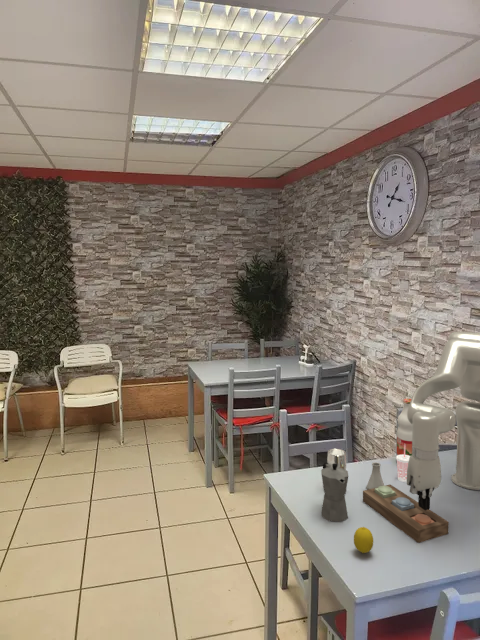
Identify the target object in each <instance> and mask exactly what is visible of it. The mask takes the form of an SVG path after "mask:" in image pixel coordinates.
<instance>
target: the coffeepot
mask: <svg viewBox="0 0 480 640" xmlns="http://www.w3.org/2000/svg"><path fill="white" fill-rule="evenodd" d="M332 465H333V467H331V465H330V464H328V463H327V461H325V462H324V463H323V464H322V468H321V470H320V472H321V480H322V486H323V488H322V489H323V492H324V495H323V500H322V505H321V511H320V512H321V517H322V519H325V520H326V521H328V522H332V523H341V522H345V521H346V520H347V519H349V517H348V510H347V502H346V495H345V494H346V493H347V486H348V481H349V471H348V470H347V469H346V470H344V469H342V468H340V467H337V464H332Z"/></svg>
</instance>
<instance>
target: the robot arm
mask: <svg viewBox="0 0 480 640" xmlns="http://www.w3.org/2000/svg"><path fill="white" fill-rule="evenodd" d="M435 370H436V371H435V373H434V375H432V377H430V378H428V379H426V380H425V381H424V382H422V383H421V384H420V385H419V386H418V387H417V388H416V389H415V390H414V392H413V394H412V396H411V398H410V399H411V402H410V404H409V408H408V412H407V417H408V421H409V422H410V423H411V424H413V426H412V455H411V456H410V458H409V462H408V468H407V482H406V485H407V486H408V487H409V493H411V495H417V496H418V499H417V500H418V501H417V502H418V506H419V507H421V508H422V509H424V510H427V509H428V510H431V498H432V496H433V492H434V490H436V489H437V488H439V487H440V485H441V481H442V468H441V467H442V466H441V459H440V456H439V450H441V449H440V446H439V435H440V434H446V433H448V432H450V431H452V430H453V429H454V427H455V425H456V426H457V429H456V430H457V439H456V440H457V441H456V445H457V446H456V462H455V463H456V464H455V465H456V467H455V473H453V474H452V475H451V481H452V482H453V484H455V485H456V486H459V487H461V488H463V489H467V490H474V491H479V490H480V332H473V331H472V332H470V331H455V332H452V333H450V334H449V335H448V340H447V342H445V344H444V346H443V349H442V351H441V355H440V358H439V361H438V364H437V367H436V369H435ZM457 388H459V389H460V394H461V396H462V397H463V398H465V399H467V401H466V400H464V401H461V402H459V403H458V404H457V405H456V406H455V407H456V408H455V412H454V411H452V410H451V409H450V408H446V407H441V406H436V405H432V404H426V403H425V402H426V400H427V399H428V398H429V397H431V396H432V395H435V394H437V393H442V392H446V391H451V390H454V389H457ZM468 400H469V401H468ZM470 400H472V401H470Z"/></svg>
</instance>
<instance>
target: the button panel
mask: <svg viewBox="0 0 480 640" xmlns="http://www.w3.org/2000/svg"><path fill="white" fill-rule="evenodd" d="M384 485H385V484H384ZM385 486H388V487H390V488H391V489H392V490H393V491H395V492H396V496H392V497H388V498H382V497H381V496H379V495H378V494H376V493H375V488H373V489H368V490H367V489H365V490H362V502H363V503H364V504H365V505H367V506H369V508H370V509H372V510H373V511H375V512H376V513H377V514H379V515H380V516H381V517H383V519H385V520H387V521H388V522H389V523H391V524H392V525H394V526H395V527H396V528H397V529H399V530H400V531H401V532H403V533H404V534H405V535H406V536H408V537H409V538H410V539H412V540H413V541H414V542H416V543H417V544H420V543H423V542H426V541H430V540H433V539H436V538H440V537H443V536H446V535H449V528H450V526H449V525H450V522H449V521H448V520H447V519H445V518H444V517H442V516H440V515H439V514H437V513H435V512H434V511H432V510H431V509H429V510H428V509H427V510H424V509H422V508H421V507H419V506H418V501H416V499H414V498H413V497H411V496H410V495H408V494H406V493H404V492H403V491H401V490H400V489H398V488H396V487H395V486H393V484H386V485H385ZM377 488H378V487H377ZM399 497H403V498H407V499H409V500H410V502H411V503H413V504H414V508H413V509H409V510H405V511H401V510H399V509H398V508H396V507H395V506H394V505H392V500H396V498H399ZM417 514H424V515H427V516H429V517H430V518H431V520H433V521H434V523H430V524H427V525H423V526H422V525H421V524H419V523H418V522H417V521H415V520H414V519H412V518H411V517H414V516H415V515H417Z"/></svg>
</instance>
